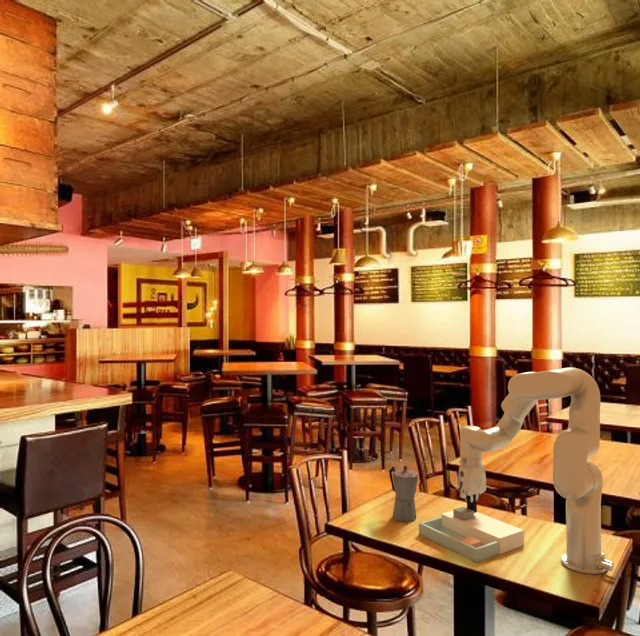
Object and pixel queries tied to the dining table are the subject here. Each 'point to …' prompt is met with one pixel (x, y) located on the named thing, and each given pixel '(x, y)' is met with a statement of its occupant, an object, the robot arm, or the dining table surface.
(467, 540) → the terracotta tile
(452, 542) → the box
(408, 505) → the moka pot
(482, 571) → the dining table surface
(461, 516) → the slate tile
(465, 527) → the board
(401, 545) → the dining table surface
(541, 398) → the robot arm
